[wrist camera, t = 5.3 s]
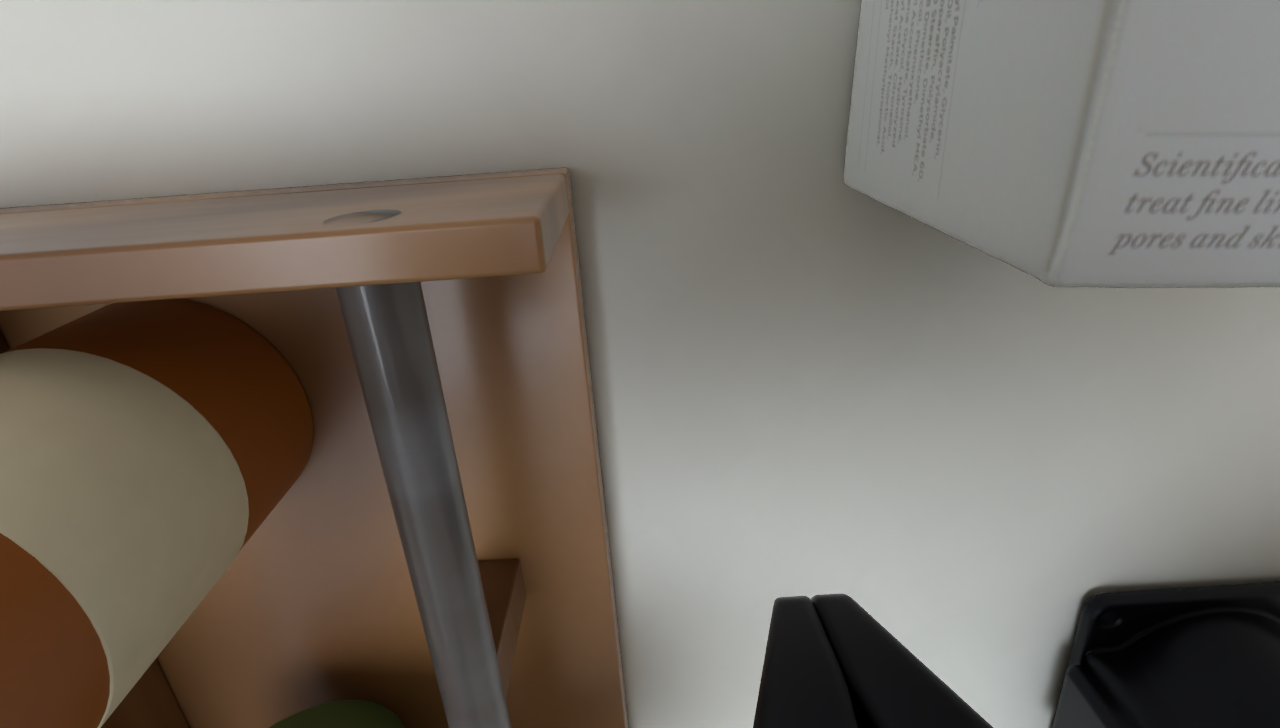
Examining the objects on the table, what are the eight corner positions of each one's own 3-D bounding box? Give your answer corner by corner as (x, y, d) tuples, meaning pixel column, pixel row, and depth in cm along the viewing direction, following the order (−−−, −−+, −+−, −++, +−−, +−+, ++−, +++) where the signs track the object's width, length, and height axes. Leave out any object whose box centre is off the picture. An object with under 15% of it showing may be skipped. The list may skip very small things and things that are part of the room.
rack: (569, 166, 13) (533, 226, 8) (636, 795, 21) (637, 1020, 16) (-54, 211, 14) (-443, 295, 9) (234, 818, 21) (114, 1048, 16)
